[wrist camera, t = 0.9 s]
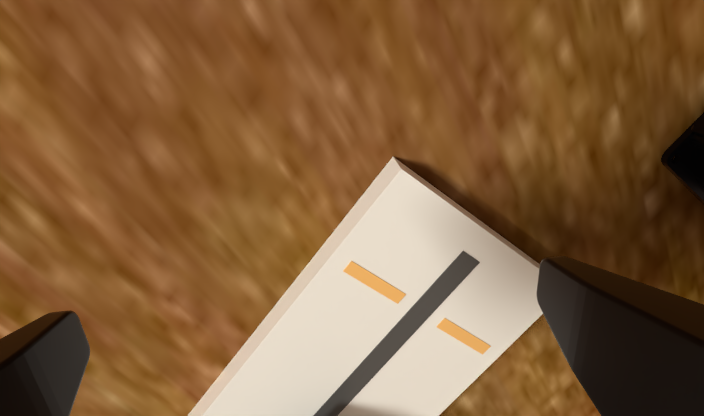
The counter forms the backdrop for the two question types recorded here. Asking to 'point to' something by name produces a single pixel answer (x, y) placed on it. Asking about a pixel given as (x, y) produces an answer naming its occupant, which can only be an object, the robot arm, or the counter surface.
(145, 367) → the counter surface
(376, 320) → the fader panel
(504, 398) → the counter surface
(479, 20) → the counter surface
